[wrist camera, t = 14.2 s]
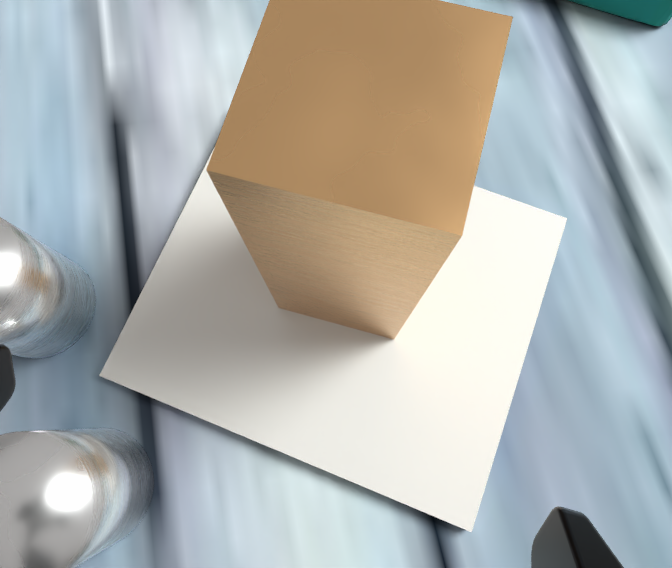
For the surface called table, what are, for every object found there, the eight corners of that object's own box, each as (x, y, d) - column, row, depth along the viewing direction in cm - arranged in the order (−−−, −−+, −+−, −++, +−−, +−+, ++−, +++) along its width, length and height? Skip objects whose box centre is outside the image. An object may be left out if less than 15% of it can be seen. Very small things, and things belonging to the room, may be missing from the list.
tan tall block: (393, 339, 19) (462, 235, 9) (278, 308, 20) (206, 170, 9) (421, 230, 20) (512, 16, 10) (311, 201, 21) (282, -35, 10)
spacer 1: (64, 374, 19) (-27, 358, 15) (-30, 335, 20) (-149, 307, 15) (114, 277, 20) (44, 232, 16) (24, 242, 21) (-72, 186, 16)
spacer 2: (107, 573, 18) (23, 631, 13) (14, 507, 18) (-100, 540, 13) (176, 466, 19) (122, 484, 14) (86, 406, 19) (3, 402, 14)
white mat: (468, 529, 18) (471, 532, 18) (105, 376, 19) (99, 375, 19) (562, 223, 21) (566, 218, 20) (239, 109, 22) (237, 102, 22)
